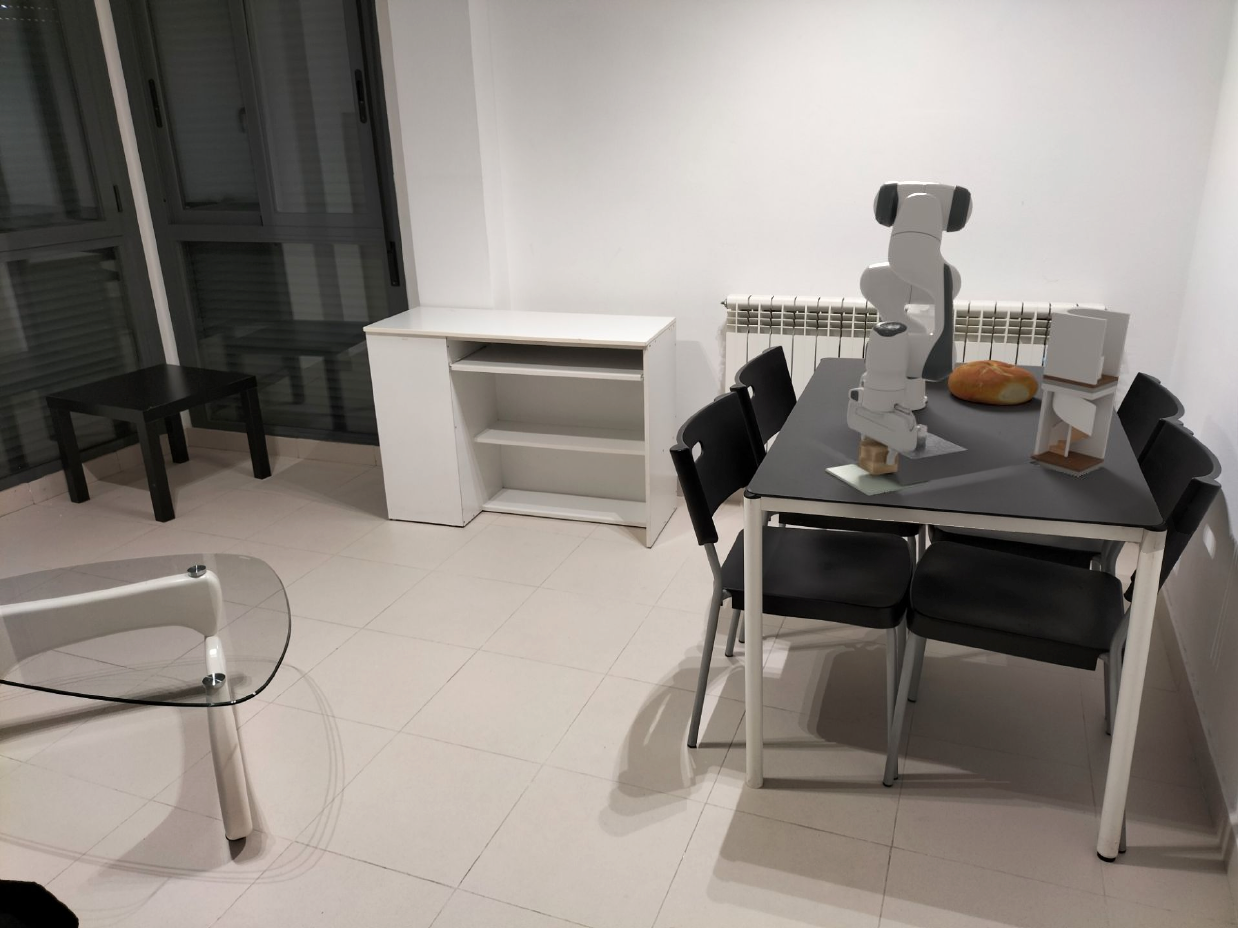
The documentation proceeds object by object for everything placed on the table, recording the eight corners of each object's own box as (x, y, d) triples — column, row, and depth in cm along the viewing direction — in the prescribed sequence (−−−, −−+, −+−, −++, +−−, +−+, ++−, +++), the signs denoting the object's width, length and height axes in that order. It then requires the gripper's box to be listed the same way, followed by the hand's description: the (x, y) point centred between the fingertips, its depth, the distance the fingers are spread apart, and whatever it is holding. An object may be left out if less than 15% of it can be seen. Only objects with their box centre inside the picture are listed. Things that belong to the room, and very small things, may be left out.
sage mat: (825, 471, 209) (825, 468, 209) (883, 461, 214) (884, 458, 214) (868, 495, 195) (868, 492, 195) (929, 484, 200) (930, 481, 200)
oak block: (858, 466, 206) (860, 441, 203) (880, 462, 208) (882, 437, 206) (874, 475, 200) (876, 449, 198) (897, 471, 202) (899, 445, 200)
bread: (1018, 414, 247) (1023, 378, 244) (934, 399, 261) (937, 365, 258) (1046, 395, 263) (1051, 361, 260) (965, 382, 278) (969, 350, 274)
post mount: (869, 444, 225) (871, 421, 223) (922, 436, 231) (925, 413, 229) (911, 465, 211) (914, 440, 209) (967, 455, 217) (970, 431, 215)
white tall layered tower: (1030, 463, 212) (1052, 312, 199) (1054, 453, 218) (1077, 306, 205) (1078, 477, 203) (1105, 320, 191) (1102, 466, 209) (1130, 313, 197)
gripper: (927, 409, 190) (920, 472, 195) (867, 385, 208) (862, 443, 213) (902, 413, 188) (896, 476, 193) (844, 388, 206) (839, 446, 211)
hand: (878, 458), depth 203 cm, fingers closed on oak block, 6 cm apart
